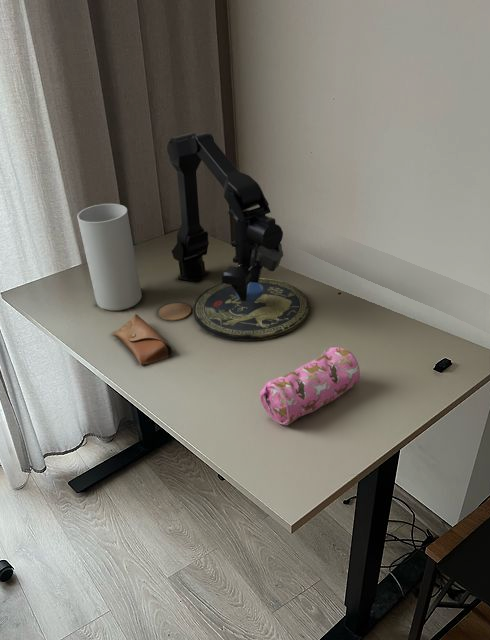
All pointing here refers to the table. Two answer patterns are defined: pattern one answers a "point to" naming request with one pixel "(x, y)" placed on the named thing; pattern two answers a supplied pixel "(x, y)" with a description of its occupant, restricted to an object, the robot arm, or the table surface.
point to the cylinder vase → (110, 256)
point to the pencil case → (310, 385)
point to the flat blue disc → (253, 291)
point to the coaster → (174, 311)
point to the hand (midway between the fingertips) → (249, 294)
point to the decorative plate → (251, 311)
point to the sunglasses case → (143, 341)
